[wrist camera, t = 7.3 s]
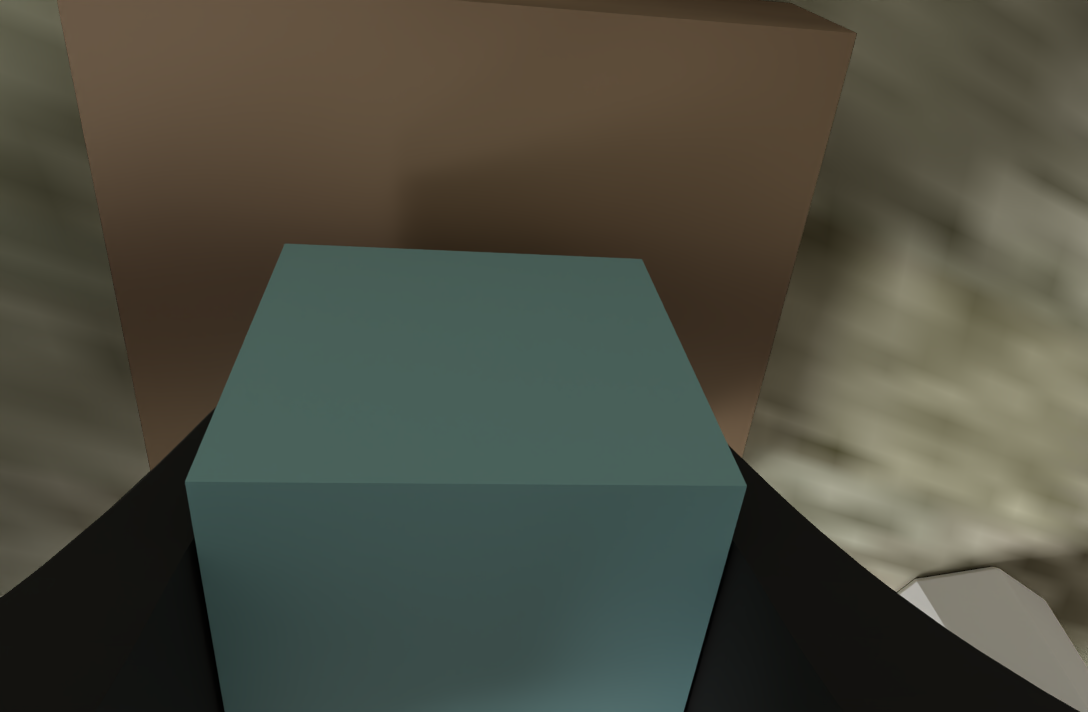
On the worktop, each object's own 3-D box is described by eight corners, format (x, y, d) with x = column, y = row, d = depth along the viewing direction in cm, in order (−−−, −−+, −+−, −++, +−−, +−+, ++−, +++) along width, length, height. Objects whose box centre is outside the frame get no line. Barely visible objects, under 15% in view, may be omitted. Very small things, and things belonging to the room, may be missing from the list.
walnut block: (680, 489, 18) (710, 574, 16) (206, 486, 17) (171, 577, 15) (790, 3, 13) (856, 32, 11) (122, -55, 12) (50, -34, 10)
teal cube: (599, 518, 13) (659, 795, 9) (306, 518, 12) (242, 813, 9) (641, 259, 11) (746, 486, 7) (284, 242, 10) (184, 481, 6)
